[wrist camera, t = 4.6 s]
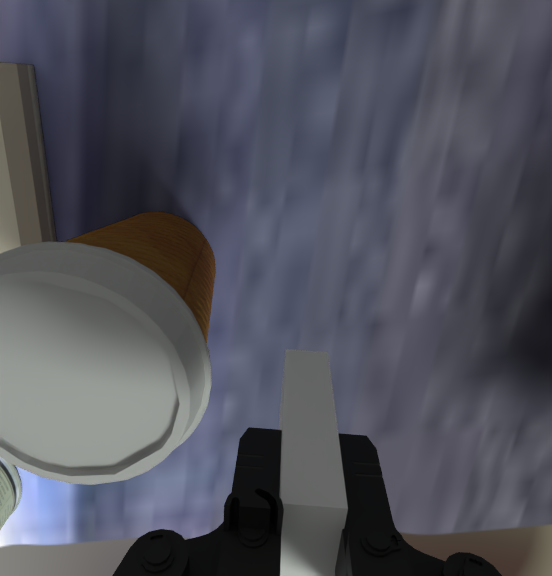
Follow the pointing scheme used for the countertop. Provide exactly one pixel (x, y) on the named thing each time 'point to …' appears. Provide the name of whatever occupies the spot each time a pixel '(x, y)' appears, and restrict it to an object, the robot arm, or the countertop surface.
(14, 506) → the coffee can
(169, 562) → the robot arm
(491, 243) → the countertop surface
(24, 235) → the cream flat rectangular board
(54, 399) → the disposable coffee cup
